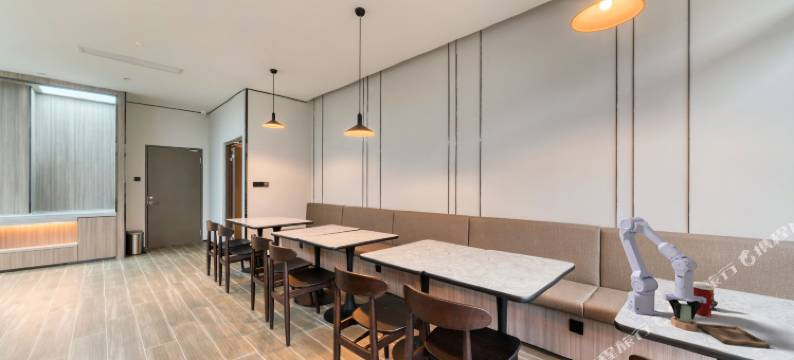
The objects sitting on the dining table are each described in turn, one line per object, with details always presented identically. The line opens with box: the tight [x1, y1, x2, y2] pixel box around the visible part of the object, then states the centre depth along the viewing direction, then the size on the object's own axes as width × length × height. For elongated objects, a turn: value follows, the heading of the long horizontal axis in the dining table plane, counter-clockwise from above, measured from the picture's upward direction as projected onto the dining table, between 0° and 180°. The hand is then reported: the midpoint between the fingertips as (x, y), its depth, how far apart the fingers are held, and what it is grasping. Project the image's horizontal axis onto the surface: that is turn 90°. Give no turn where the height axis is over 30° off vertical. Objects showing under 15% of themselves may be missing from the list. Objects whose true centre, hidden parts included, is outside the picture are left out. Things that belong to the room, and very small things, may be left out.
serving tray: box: [696, 322, 771, 349], centre depth 120 cm, size 14×14×1 cm
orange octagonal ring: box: [670, 315, 698, 332], centre depth 129 cm, size 8×8×2 cm
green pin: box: [677, 302, 692, 324], centre depth 129 cm, size 4×4×9 cm
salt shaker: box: [711, 289, 719, 312], centre depth 146 cm, size 6×6×12 cm
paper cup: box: [693, 281, 715, 318], centre depth 140 cm, size 8×8×14 cm
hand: (684, 318), depth 129 cm, fingers closed on green pin, 4 cm apart
